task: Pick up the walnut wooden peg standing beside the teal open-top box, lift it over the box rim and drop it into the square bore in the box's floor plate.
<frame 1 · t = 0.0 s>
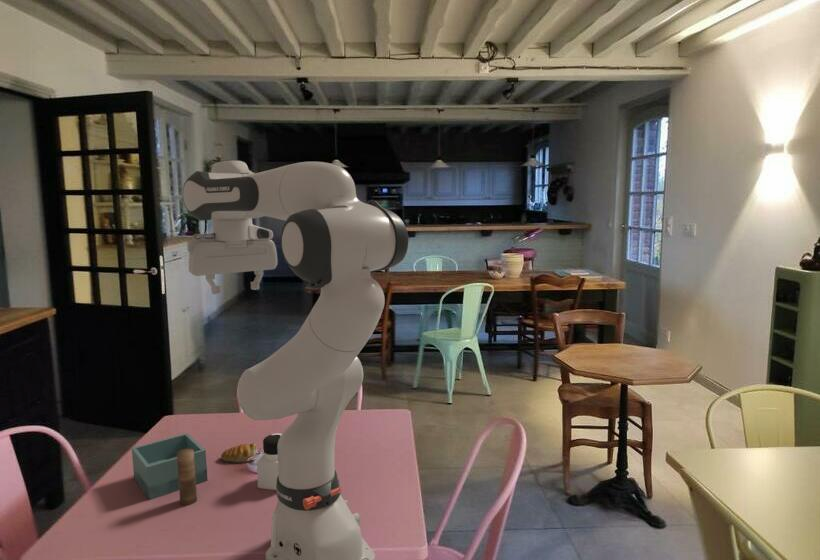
hand: (236, 291, 126), 48 cm above the table, tool pointing down, fingers open, 8 cm apart
medicine bottle: (277, 483, 133), on the table
pastry: (242, 459, 147), on the table
peg: (188, 501, 125), on the table
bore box: (170, 479, 135), on the table
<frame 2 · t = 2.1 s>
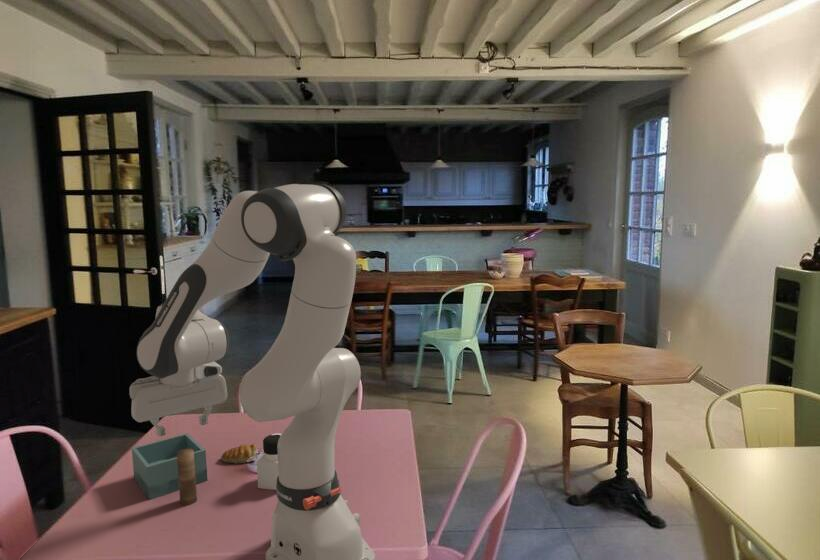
hand: (182, 429, 123), 17 cm above the table, tool pointing down, fingers open, 8 cm apart
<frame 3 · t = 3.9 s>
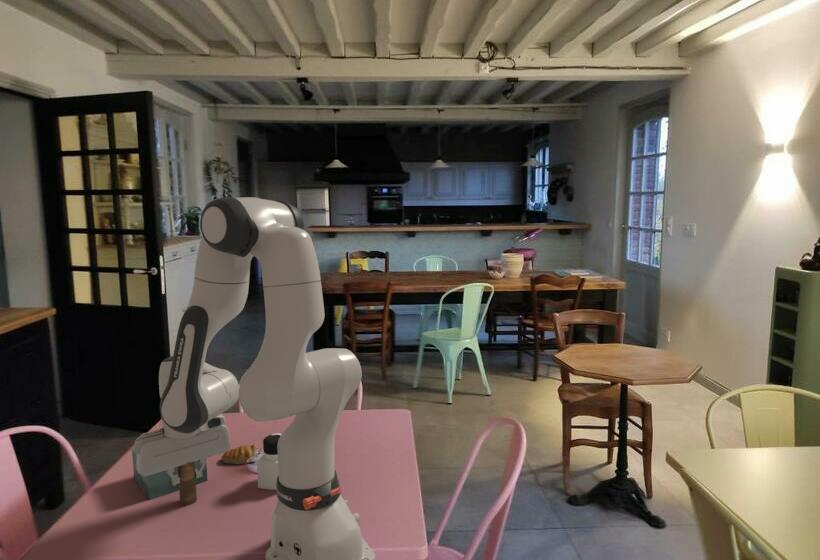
hand: (187, 480, 124), 5 cm above the table, tool pointing down, fingers closed on peg, 4 cm apart
peg: (188, 501, 125), on the table, touching gripper
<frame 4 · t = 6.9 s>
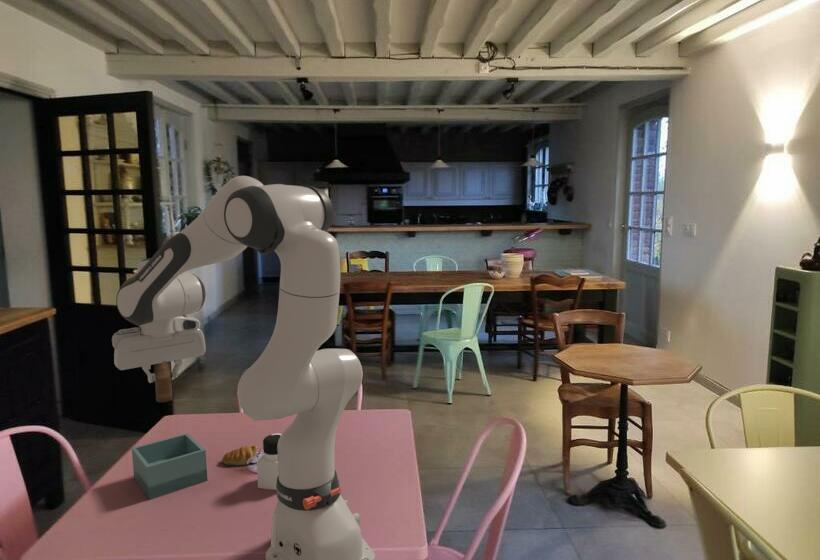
hand: (163, 379, 131), 26 cm above the table, tool pointing down, fingers closed on peg, 4 cm apart
peg: (164, 399, 132), point 21 cm above the table, touching gripper
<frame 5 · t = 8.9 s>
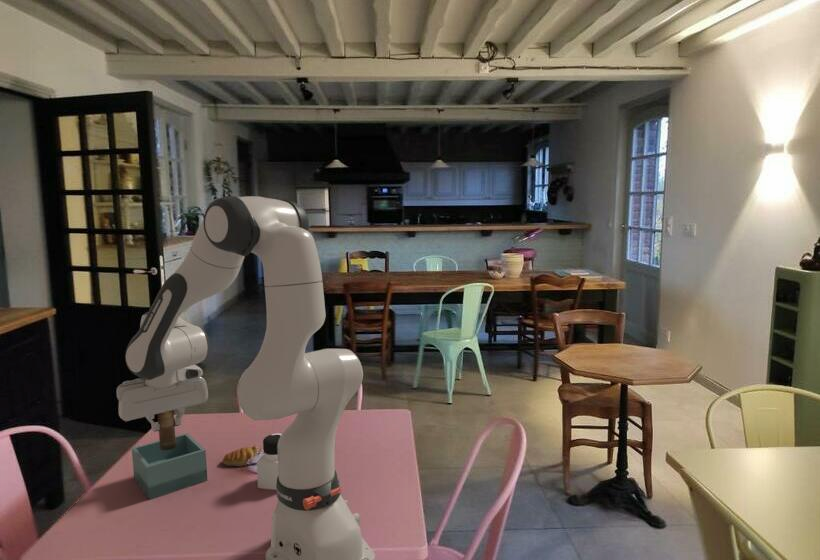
hand: (166, 427, 134), 14 cm above the table, tool pointing down, fingers closed on peg, 4 cm apart
peg: (168, 447, 134), point 8 cm above the table, touching gripper
when the fingers open (8 cm above the table, at t = 10.4 s): peg drops 2 cm, resting in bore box.
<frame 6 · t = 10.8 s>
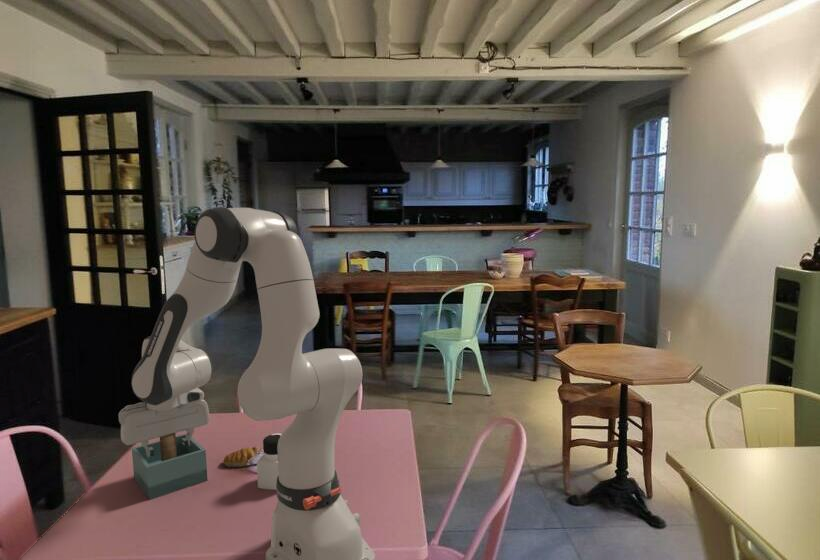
hand: (168, 450, 134), 8 cm above the table, tool pointing down, fingers open, 7 cm apart
peg: (170, 479, 135), resting in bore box
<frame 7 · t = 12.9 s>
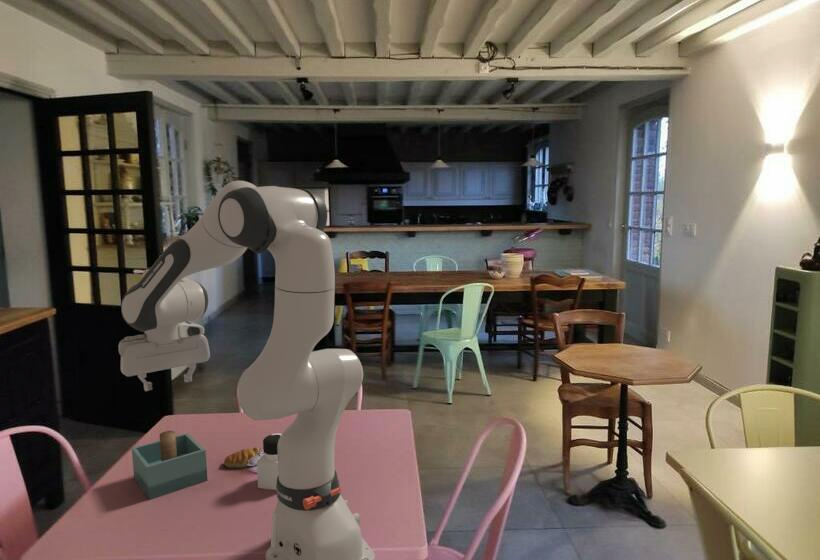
hand: (168, 385, 133), 24 cm above the table, tool pointing down, fingers open, 8 cm apart
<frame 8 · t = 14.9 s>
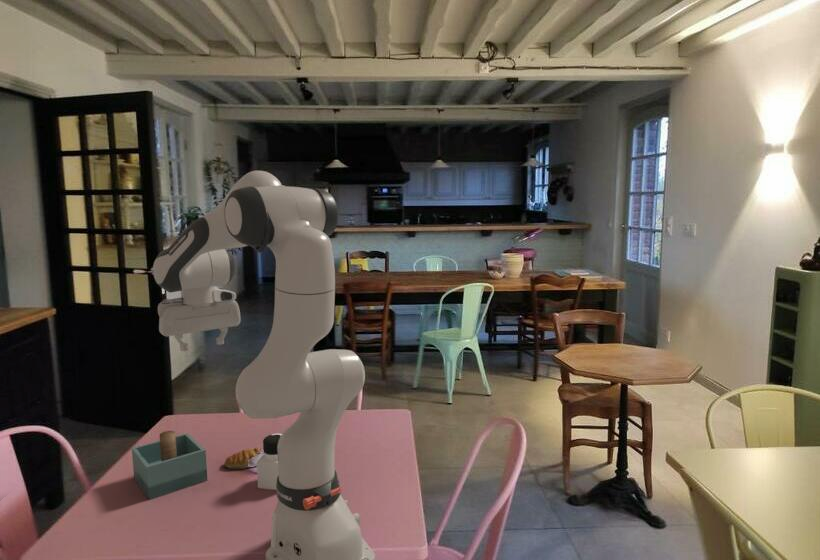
hand: (202, 347, 142), 31 cm above the table, tool pointing down, fingers open, 8 cm apart
at the end: peg 0.0 cm off-centre on the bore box, point 0.0 cm above the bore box's base; peg tilted 0°; the gripper is holding nothing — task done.
